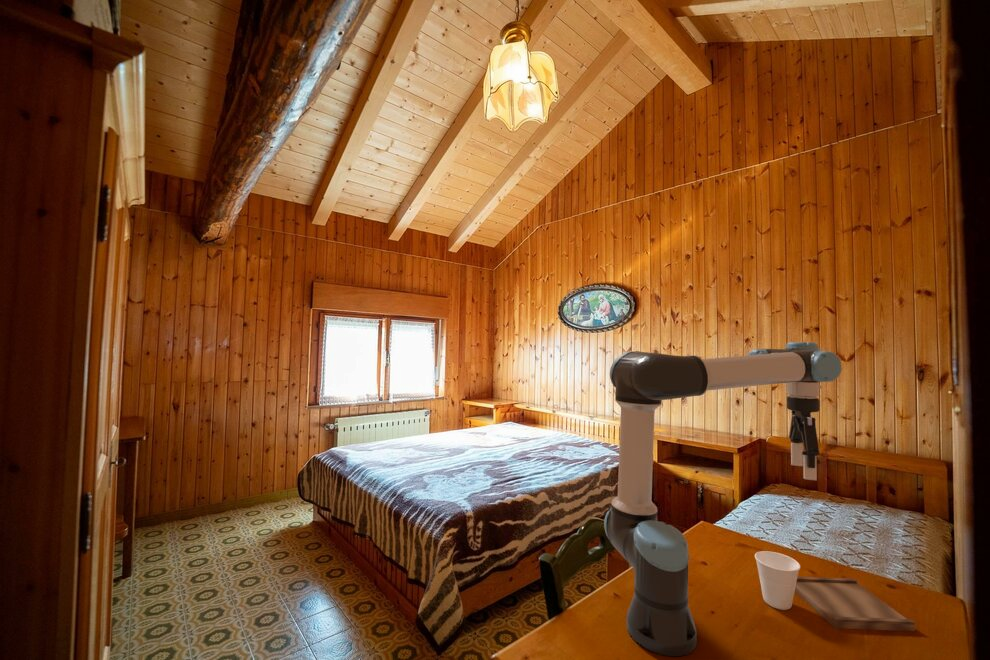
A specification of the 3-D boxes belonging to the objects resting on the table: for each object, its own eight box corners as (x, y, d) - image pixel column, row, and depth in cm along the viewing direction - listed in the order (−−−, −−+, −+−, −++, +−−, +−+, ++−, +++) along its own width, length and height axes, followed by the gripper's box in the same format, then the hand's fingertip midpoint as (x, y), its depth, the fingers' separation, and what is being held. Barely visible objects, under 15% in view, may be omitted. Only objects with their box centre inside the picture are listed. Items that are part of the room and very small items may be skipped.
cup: (808, 618, 104) (808, 573, 104) (764, 612, 106) (763, 568, 106) (789, 594, 114) (789, 553, 114) (748, 589, 116) (748, 549, 116)
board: (835, 628, 101) (835, 619, 101) (786, 584, 119) (786, 576, 119) (914, 631, 100) (914, 622, 100) (853, 586, 118) (853, 578, 118)
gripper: (834, 403, 107) (834, 488, 107) (806, 392, 130) (807, 461, 130) (798, 401, 110) (798, 484, 110) (777, 390, 133) (777, 458, 133)
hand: (803, 472), depth 120 cm, fingers open, 13 cm apart
